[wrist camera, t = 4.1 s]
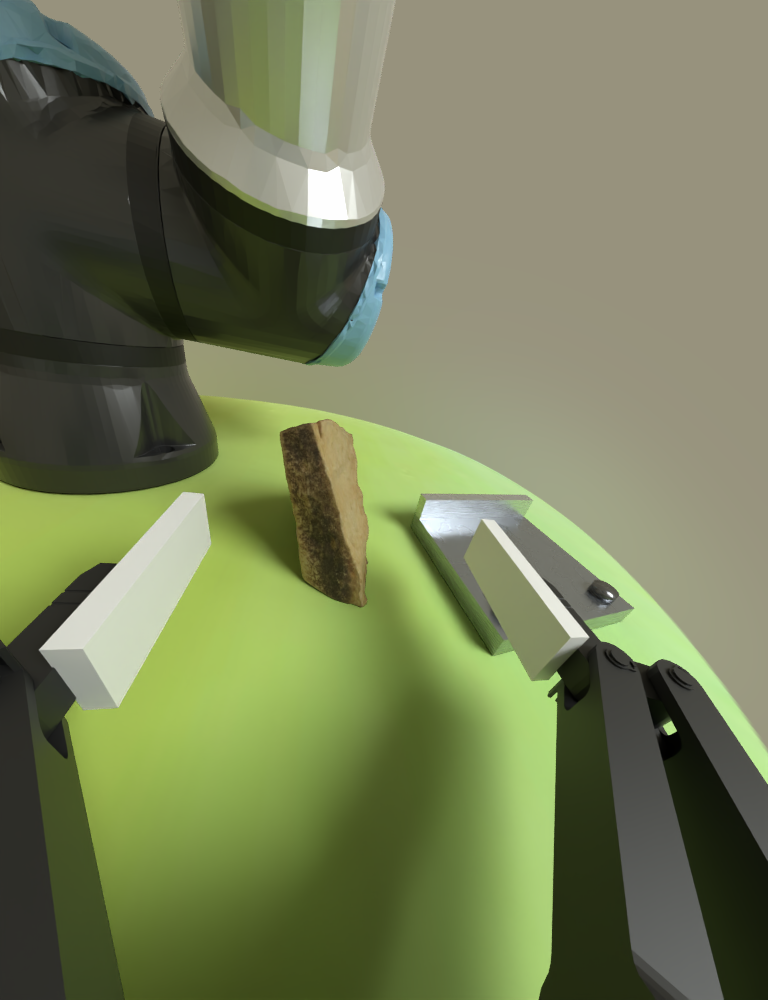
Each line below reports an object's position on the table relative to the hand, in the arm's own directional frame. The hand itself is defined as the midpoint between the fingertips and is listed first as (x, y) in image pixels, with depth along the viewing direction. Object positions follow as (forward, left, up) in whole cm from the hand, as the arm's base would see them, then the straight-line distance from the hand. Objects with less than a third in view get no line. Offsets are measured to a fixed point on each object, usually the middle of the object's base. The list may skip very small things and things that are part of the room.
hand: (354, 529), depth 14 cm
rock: (-6, +1, -6) cm, 8 cm away
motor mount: (-1, +14, -6) cm, 15 cm away
